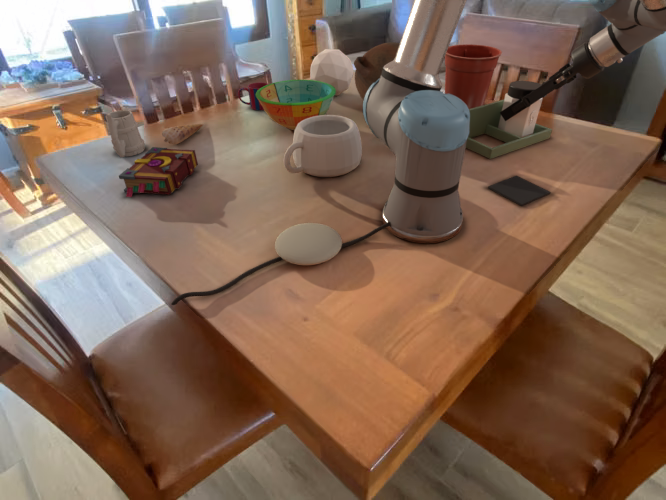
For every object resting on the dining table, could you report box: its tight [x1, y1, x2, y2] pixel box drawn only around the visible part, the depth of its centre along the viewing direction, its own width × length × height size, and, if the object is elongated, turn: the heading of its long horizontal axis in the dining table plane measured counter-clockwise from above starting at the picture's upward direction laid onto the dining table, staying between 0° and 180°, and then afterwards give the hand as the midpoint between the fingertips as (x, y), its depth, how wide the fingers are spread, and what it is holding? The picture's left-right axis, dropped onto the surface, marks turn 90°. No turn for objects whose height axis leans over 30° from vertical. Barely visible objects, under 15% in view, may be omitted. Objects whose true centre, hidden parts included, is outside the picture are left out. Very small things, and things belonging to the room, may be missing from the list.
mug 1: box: [105, 109, 146, 158], centre depth 108 cm, size 8×12×12 cm, turn 5°
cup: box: [237, 81, 269, 111], centre depth 136 cm, size 7×10×7 cm
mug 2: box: [283, 114, 363, 178], centre depth 100 cm, size 21×17×10 cm
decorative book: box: [118, 146, 199, 198], centre depth 98 cm, size 11×16×5 cm
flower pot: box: [444, 43, 503, 109], centre depth 130 cm, size 16×16×16 cm
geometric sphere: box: [309, 48, 354, 97], centre depth 143 cm, size 14×15×15 cm
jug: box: [353, 41, 400, 102], centre depth 122 cm, size 20×20×30 cm
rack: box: [465, 99, 553, 160], centre depth 111 cm, size 22×13×8 cm, turn 121°
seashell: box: [161, 123, 205, 145], centre depth 118 cm, size 4×18×5 cm, turn 159°
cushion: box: [274, 222, 343, 266], centre depth 76 cm, size 12×12×3 cm
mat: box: [487, 175, 552, 207], centre depth 92 cm, size 9×9×1 cm
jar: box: [498, 80, 544, 138], centre depth 111 cm, size 9×8×12 cm
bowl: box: [256, 79, 336, 131], centre depth 122 cm, size 22×22×10 cm
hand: (509, 111), depth 113 cm, fingers closed on jar, 8 cm apart
